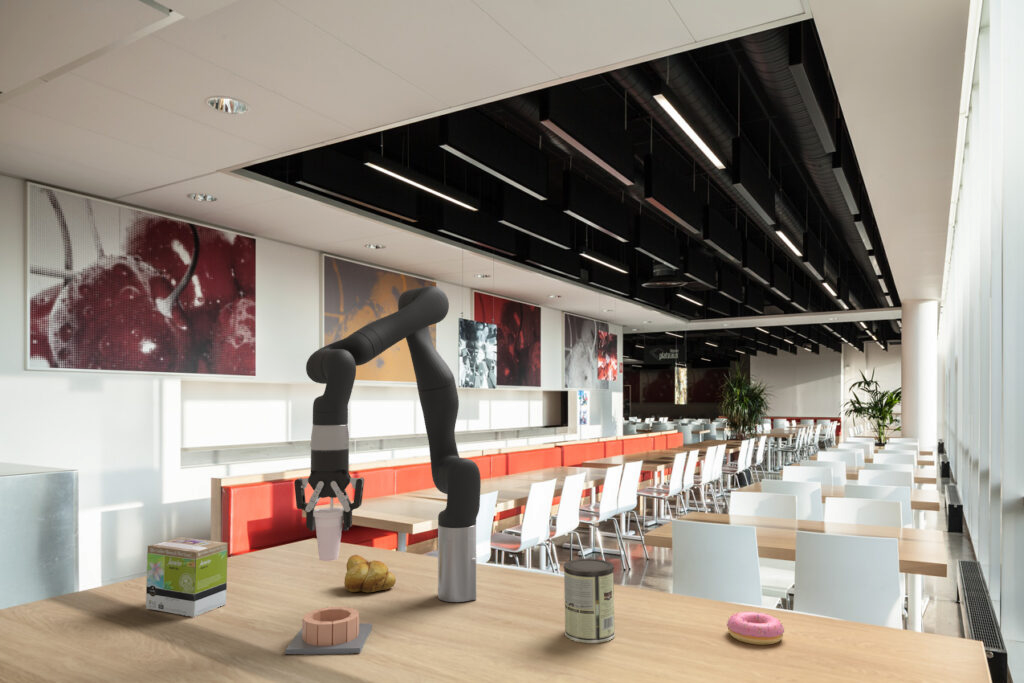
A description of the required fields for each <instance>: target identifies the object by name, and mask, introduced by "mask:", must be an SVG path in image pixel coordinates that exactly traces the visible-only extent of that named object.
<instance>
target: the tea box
mask: <svg viewBox="0 0 1024 683" xmlns="http://www.w3.org/2000/svg"><path fill="white" fill-rule="evenodd" d="M228 544H229V543H228V542H224V541H223V542H222V541H217V540H208V539H200V538H199V539H197V538H191V537H184V536H183V537H182V536H180V537H176V538H173V539H170V540H167V541H162V542H159V543H155V544H150V545H147V555H146V560H147V562H146V564H147V565H146V587H145V588H146V593H145V595H146V596H145V608H146V610H153V611H158V612H159V611H160V612H164V613H169V614H175V615H179V614H180V615H179V616H184V615H185V616H184V617H188V616H191V617H190V618H193V617H194V618H196V617H195V616H197V615H199V616H201V615H200V614H202V613H204V614H206V613H205V612H207V611H209V610H212V609H214V608H217V607H219V608H221V607H220V606H222V605H224V606H226V605H227V587H228V586H227V585H228V584H227V582H228ZM225 604H226V605H225ZM222 607H223V606H222ZM217 609H218V608H217ZM212 611H213V610H212ZM209 612H210V611H209ZM207 613H208V612H207ZM202 615H203V614H202ZM197 617H198V616H197Z"/></svg>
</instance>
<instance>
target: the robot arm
mask: <svg viewBox="0 0 1024 683" xmlns="http://www.w3.org/2000/svg"><path fill="white" fill-rule="evenodd" d="M449 303H450V302H449V297H448V296H447V294H446V292H445V291H444V290H443V289H442V288H440V287H438V286H433V285H428V286H427V285H426V286H422V287H421V286H420V287H416V288H412V289H409V290H405V291H404V292H402V293H401V295H400V296H399V297H398V303H397V310H398V311H394V312H393V313H391V314H388V315H386V316H383V317H380V318H379V319H376V320H373V321H372V322H369V323H368V324H366V325H364V326H362V327H361V328H359V329H358V330H356V331H354V332H352V333H351V334H350V335H348V336H346V337H345V338H342V339H340V340H337V341H334V342H331V343H329V344H327V345H325V346H323V347H320V348H319V349H317V350H316V351H314V352H313V353H312V354H311V355H310V356H309V357H308V359H307V361H306V365H305V371H306V372H305V373H306V375H307V376H308V378H309V379H310V380H311V381H312V382H314V383H316V384H321V385H324V384H325V388H324V392H323V394H322V395H320V396H318V397H316V398H314V400H313V402H312V403H313V404H312V427H311V428H312V429H311V434H310V435H311V436H310V473H309V476H308V477H307V478H305V477H303V478H302V477H298V478H296V479H295V480H294V494H295V503H296V508H297V509H298V510H302V511H304V512H305V515H306V516H305V526H306V528H307V529H308V531H309V532H313V531H316V525H315V517H314V516H313V511H314V510H315V508H316V506H317V504H318V502H319V500H320V499H321V498H322V499H325V498H330V499H331V498H333V499H334V498H335V499H336V498H337V500H338V502H339V503H340V504H341V506H342V508H343V509H344V510H345V512H343V525H342V531H344V532H345V531H348V530H350V528H351V527H352V525H353V510H356V509H358V508H360V507H361V506H362V504H363V494H364V486H365V478H364V477H359V478H358V477H351V475H350V472H349V471H350V470H349V467H350V466H349V464H350V463H349V462H350V456H349V454H350V433H349V402H350V399H351V396H352V393H353V388H354V384H355V380H356V374H357V367H358V366H359V367H360V366H363V365H365V364H367V363H369V362H370V361H372V360H373V359H375V358H377V357H378V356H379V355H381V354H382V353H383V352H386V350H388V349H389V348H391V347H392V346H394V345H396V344H397V343H399V342H400V341H402V340H404V339H405V340H406V343H407V346H408V350H409V354H410V357H411V363H412V366H413V371H414V376H415V380H416V387H417V392H418V396H419V403H420V406H421V410H422V415H423V419H424V425H425V431H426V435H427V440H428V447H429V448H428V449H429V457H430V458H429V459H430V469H431V476H432V481H433V484H434V487H436V489H437V490H438V491H439V492H441V493H442V494H444V495H446V496H447V497H446V506H445V508H444V509H443V510H442V511H440V512H439V513H438V516H437V598H438V599H439V600H440V601H443V602H448V603H461V602H462V603H463V602H469V601H475V600H477V517H478V515H479V512H480V507H481V505H480V504H481V489H482V488H481V484H482V483H481V482H482V481H481V473H480V469H479V466H478V464H476V462H475V461H474V460H472V459H470V458H465V457H464V458H463V457H460V454H459V452H458V446H457V442H456V436H455V435H456V434H455V431H456V424H457V418H458V415H459V414H458V413H459V408H460V407H459V405H460V404H459V403H460V401H459V394H458V389H457V385H456V379H455V376H454V373H453V372H452V370H451V369H450V367H449V365H448V364H447V362H446V361H445V360H444V359H443V357H442V356H441V354H439V352H438V351H437V349H436V347H435V346H434V343H433V341H432V337H431V332H430V329H429V326H432V325H436V324H439V323H441V322H442V321H444V319H445V318H446V317H447V315H448V312H449V308H450V304H449ZM308 484H309V485H310V487H311V489H312V490H313V493H312V494H311V496H310V498H309V501H308V502H306V494H305V492H306V491H305V489H306V488H307V487H308ZM350 484H351V486H352V487H351V488H352V489H354V497H353V502H351V499H350V498H349V496H350V495H349V494H348V493H347V491H346V488H347V487H348V486H349V485H350Z"/></svg>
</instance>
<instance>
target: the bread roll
mask: <svg viewBox="0 0 1024 683" xmlns="http://www.w3.org/2000/svg"><path fill="white" fill-rule="evenodd" d="M395 576H396V575H394V574H393V573H392V572H390V571H389V567H388V565H386V564H385V563H384V562H382V561H380V560H371V561H369V560H367V559H365V558H364V557H363V556H360V555H359V554H355V555H351V556H350V557H349V558H348V559H347V563H346V573H345V576H344V588H345V589H346V590H347V591H348V592H351V593H357V592H362V593H373V592H374V593H375V592H377V591H378V592H379V591H386V590H389V589H392V588H393V587H394V586H395V584H396V581H397V580H396V577H395Z"/></svg>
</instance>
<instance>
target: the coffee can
mask: <svg viewBox="0 0 1024 683" xmlns="http://www.w3.org/2000/svg"><path fill="white" fill-rule="evenodd" d="M563 570H564V571H563V572H564V573H563V575H564V576H563V577H564V579H563V580H564V582H563V583H564V584H563V585H564V587H563V588H564V636H565V635H566V636H565V637H566V638H567V637H568V638H570V639H571V641H572V640H574V641H573V642H576V641H577V642H576V643H580V642H584V643H583V644H600V643H599V642H604V643H606V642H605V641H607V642H609V640H610V641H612V640H613V639H615V636H616V633H615V588H614V586H615V582H614V570H615V565H614V563H612V562H610V561H609V560H604V559H597V558H578V559H577V558H576V559H570V560H567V561H565V562H564V563H563ZM568 638H567V639H568ZM570 639H569V640H570ZM611 639H612V640H611Z"/></svg>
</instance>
